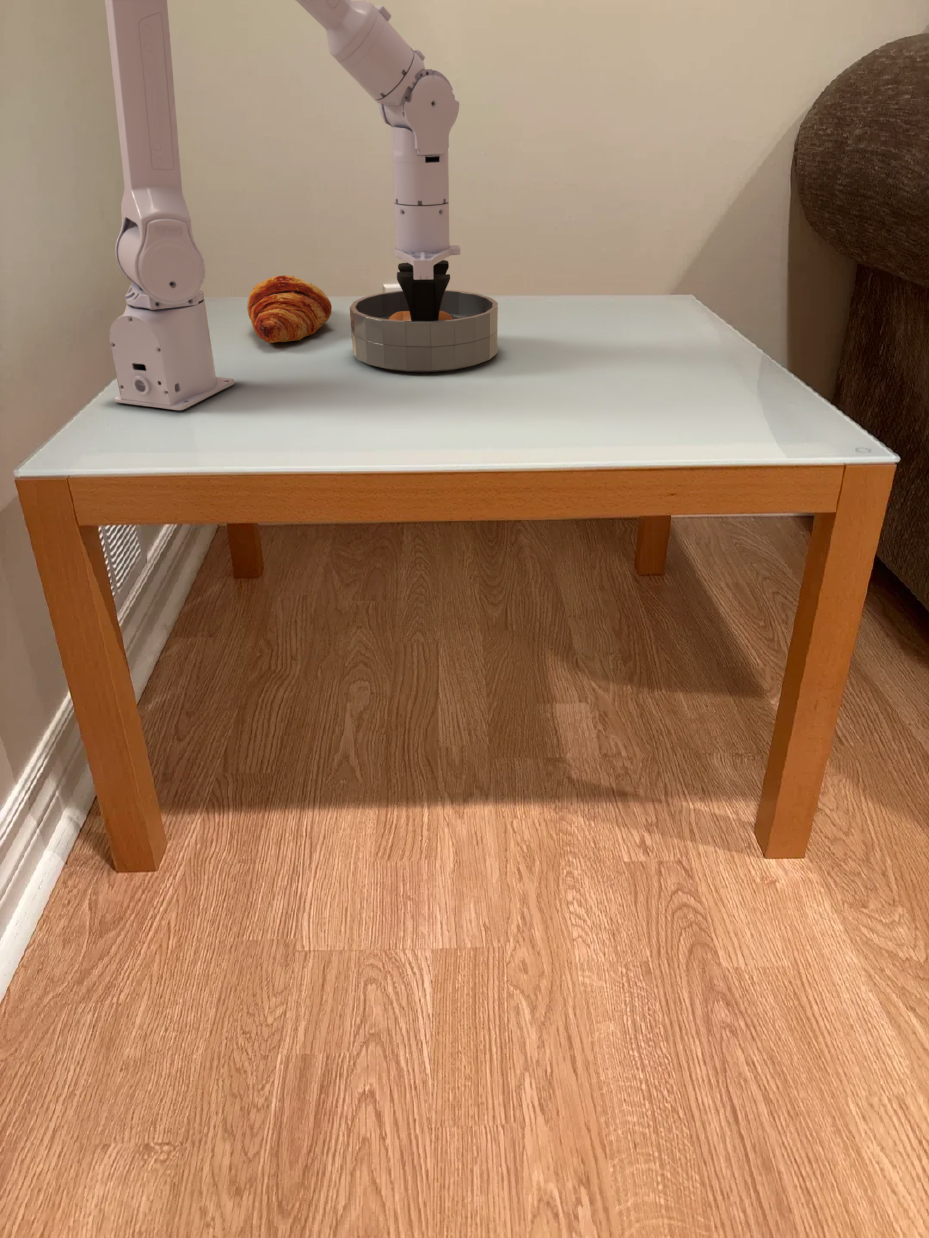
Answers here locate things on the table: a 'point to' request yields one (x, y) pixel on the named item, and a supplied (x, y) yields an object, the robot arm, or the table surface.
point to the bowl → (424, 333)
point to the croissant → (287, 309)
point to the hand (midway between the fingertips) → (425, 334)
